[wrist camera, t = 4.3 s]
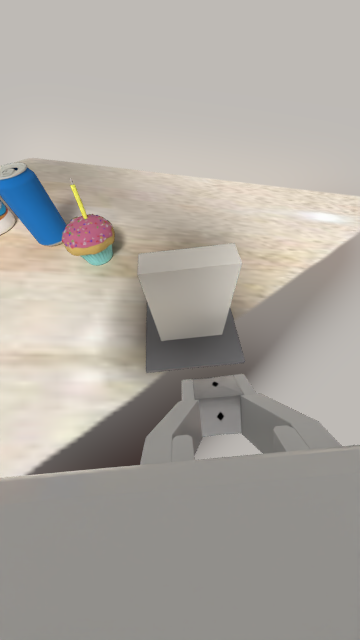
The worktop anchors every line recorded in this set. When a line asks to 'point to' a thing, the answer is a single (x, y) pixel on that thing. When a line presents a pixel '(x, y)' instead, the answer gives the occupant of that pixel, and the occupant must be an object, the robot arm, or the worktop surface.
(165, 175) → the worktop surface
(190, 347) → the mat
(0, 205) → the fruit juice
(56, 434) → the worktop surface
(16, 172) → the beverage can
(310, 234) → the worktop surface
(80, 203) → the cupcake
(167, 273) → the tile
